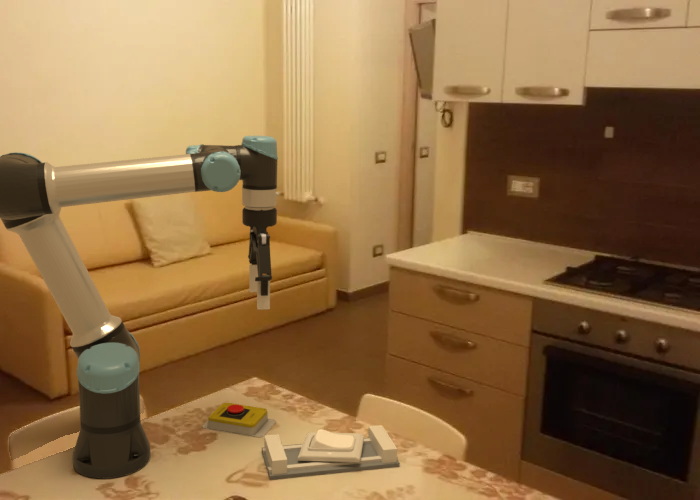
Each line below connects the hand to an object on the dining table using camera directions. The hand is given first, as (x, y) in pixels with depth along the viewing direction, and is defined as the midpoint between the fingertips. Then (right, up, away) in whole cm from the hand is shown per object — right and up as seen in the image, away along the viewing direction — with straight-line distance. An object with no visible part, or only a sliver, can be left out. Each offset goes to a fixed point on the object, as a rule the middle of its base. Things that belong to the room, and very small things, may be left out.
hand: (259, 300), depth 168 cm
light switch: (+17, -31, -11) cm, 37 cm away
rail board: (+16, -33, -11) cm, 38 cm away
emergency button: (-5, -29, +3) cm, 30 cm away
